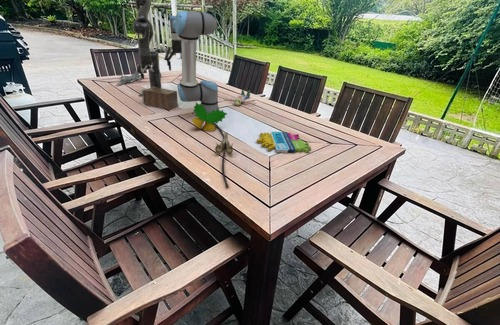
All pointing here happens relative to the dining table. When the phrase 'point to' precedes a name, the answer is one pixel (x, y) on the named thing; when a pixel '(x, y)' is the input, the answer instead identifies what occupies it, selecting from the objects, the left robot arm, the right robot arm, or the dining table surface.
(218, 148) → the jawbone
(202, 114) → the ornament
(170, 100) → the large taupe box
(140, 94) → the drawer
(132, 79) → the airplane
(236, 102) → the toy
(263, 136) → the sign
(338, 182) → the dining table surface
